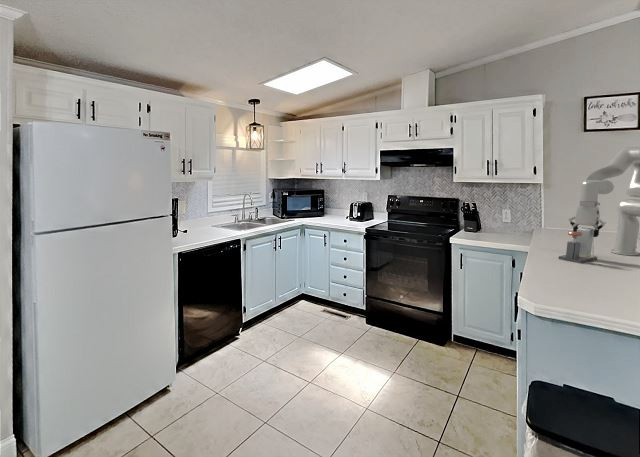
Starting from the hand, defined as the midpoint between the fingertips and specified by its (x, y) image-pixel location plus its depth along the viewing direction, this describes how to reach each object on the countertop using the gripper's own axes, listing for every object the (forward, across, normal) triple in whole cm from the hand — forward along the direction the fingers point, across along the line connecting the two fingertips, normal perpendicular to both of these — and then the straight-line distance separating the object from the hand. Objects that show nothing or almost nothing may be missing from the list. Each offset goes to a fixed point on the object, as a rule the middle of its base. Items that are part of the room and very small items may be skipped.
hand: (585, 235), depth 196 cm
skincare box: (+11, 0, +1) cm, 11 cm away
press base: (+13, 0, +5) cm, 14 cm away
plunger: (+6, 0, +11) cm, 13 cm away
